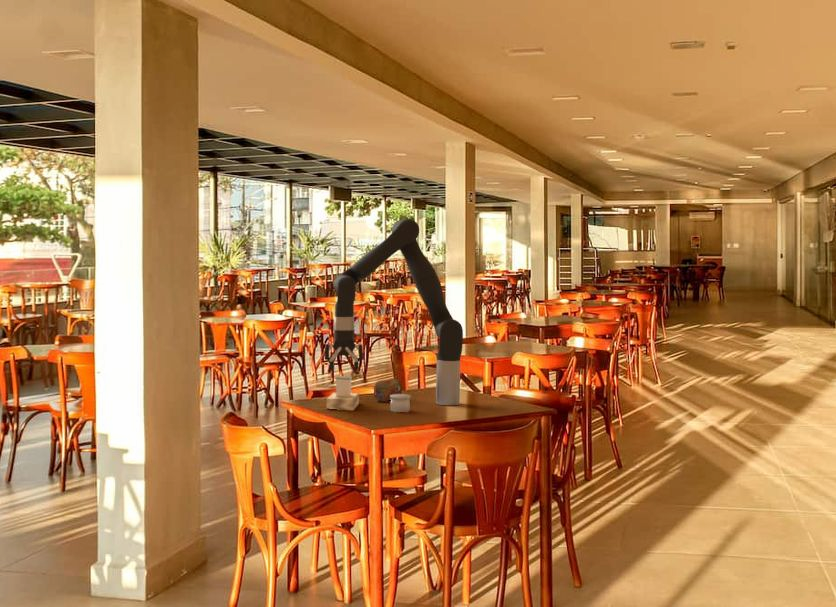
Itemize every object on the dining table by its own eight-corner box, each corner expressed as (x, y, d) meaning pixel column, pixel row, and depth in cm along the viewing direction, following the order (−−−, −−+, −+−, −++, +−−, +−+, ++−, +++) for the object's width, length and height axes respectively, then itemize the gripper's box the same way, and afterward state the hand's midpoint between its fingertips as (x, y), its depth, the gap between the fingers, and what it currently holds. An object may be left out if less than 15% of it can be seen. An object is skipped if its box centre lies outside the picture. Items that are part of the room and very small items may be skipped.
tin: (378, 402, 364) (378, 381, 363) (372, 402, 366) (372, 380, 365) (402, 398, 376) (402, 377, 375) (396, 397, 378) (396, 377, 377)
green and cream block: (351, 395, 355) (351, 376, 355) (349, 397, 350) (350, 378, 349) (337, 394, 355) (337, 376, 355) (335, 396, 350) (335, 377, 350)
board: (358, 403, 360) (358, 393, 360) (353, 410, 344) (353, 399, 344) (333, 402, 361) (333, 392, 361) (326, 409, 345) (326, 398, 345)
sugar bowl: (410, 409, 349) (411, 394, 349) (409, 413, 341) (409, 397, 341) (390, 409, 349) (390, 393, 349) (388, 412, 342) (389, 396, 342)
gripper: (364, 328, 355) (364, 370, 355) (326, 327, 355) (326, 370, 356) (361, 329, 347) (361, 373, 348) (323, 329, 348) (323, 372, 349)
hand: (344, 371), depth 352 cm, fingers open, 8 cm apart
